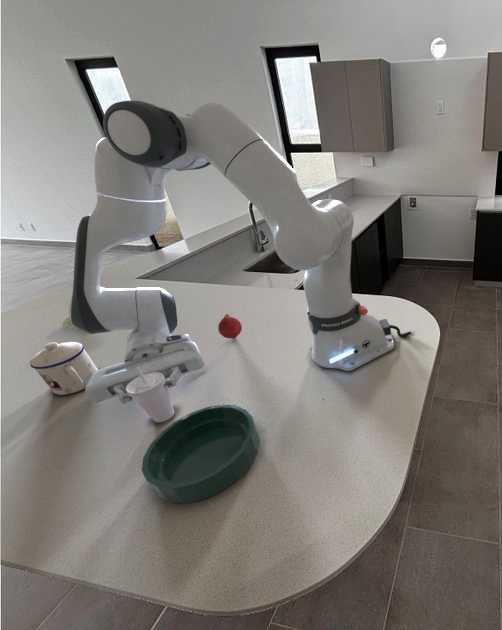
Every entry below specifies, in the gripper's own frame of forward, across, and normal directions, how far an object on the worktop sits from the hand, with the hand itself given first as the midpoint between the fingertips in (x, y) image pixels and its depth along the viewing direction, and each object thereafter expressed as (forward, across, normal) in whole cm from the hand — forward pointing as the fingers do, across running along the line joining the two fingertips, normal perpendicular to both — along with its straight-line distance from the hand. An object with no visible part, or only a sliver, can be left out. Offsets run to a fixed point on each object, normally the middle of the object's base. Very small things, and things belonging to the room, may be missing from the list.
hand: (149, 392), depth 67 cm
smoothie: (-1, 0, +8) cm, 8 cm away
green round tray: (+16, +7, +8) cm, 20 cm away
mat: (-59, -19, +8) cm, 62 cm away
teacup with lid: (-24, -17, +8) cm, 30 cm away
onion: (-24, +17, +8) cm, 31 cm away
